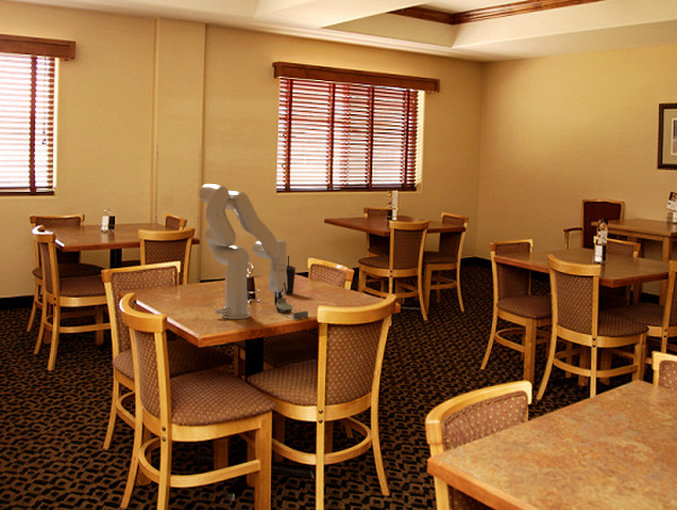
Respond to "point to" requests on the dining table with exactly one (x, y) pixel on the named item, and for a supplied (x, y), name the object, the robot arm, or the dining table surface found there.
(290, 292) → the drinking cup
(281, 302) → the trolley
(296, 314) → the dock
